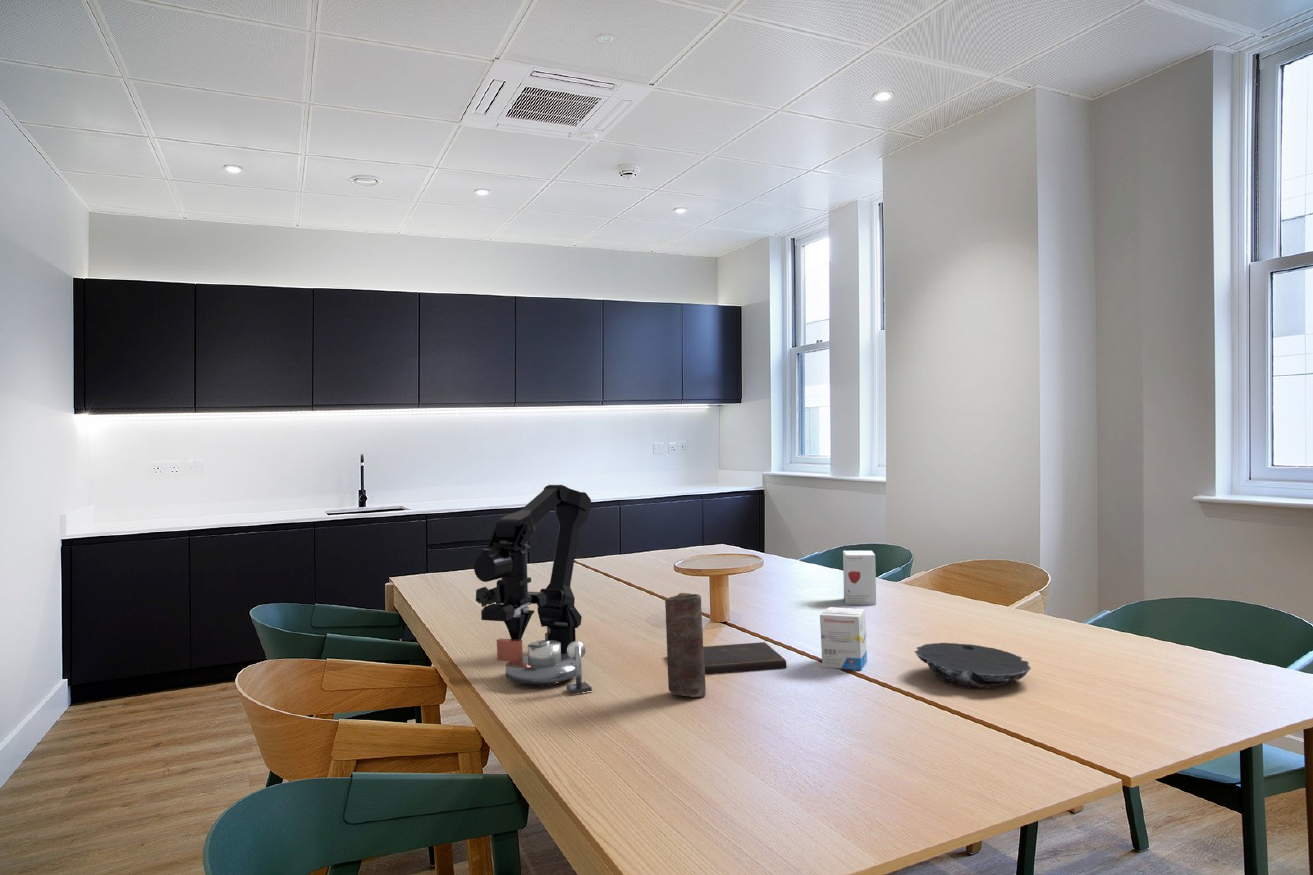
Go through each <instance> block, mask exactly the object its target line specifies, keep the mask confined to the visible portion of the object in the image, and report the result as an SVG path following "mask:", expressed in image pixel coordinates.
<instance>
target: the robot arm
mask: <svg viewBox="0 0 1313 875" xmlns="http://www.w3.org/2000/svg"><path fill="white" fill-rule="evenodd" d="M591 507H592V499H591V497H590V496H589V494H587V492H585V491H578V490H575V489H572V488H570V487H568V486H565V485H564V484H548V485H545V487H543V490H542V491H541V492H540V493H538V494H537V495H536V496H535V497H534V498H533V499H532V500H530V501H529V502H528V503H527V504H526V505H525V506H524V507H522V508H521V509H519V510H518V511H515V512H512V513H508V514H507V515H505V516H502V517H500V518H499V519H498V520H497V522H496V524H495V527H494V529H493V531H492V534H491V537H490V539H489V541H488V544H487V546H486V548H483V549H481V551H480V552H481V555H480V556H478V557H477V558H476V560H475V563H474V565H473V569H474V571H473V572H474V574H475V575H476V576H475V577H476V578H477V579H478V580H479V581H481V582H484V583H488V582H492V581H495V580H497V581H496V587H493V588H488V587H487V586H483V587H480V588H477V589H476V590H475V602H476V603H478V604H481V607H482V609H481V611H480V616H481V618H480V619H481V621H488V622H489V621H491V622H492V621H493V622H503V623H504V624H505V626H506V628H507V631H508V634H509V636H510V637H509V638H510V639H518V640H523V639H522V638H523V636H524V633H525V632H526V628H527V627H528V624H529V622H530V620H531V618H532V616H533V615H534V614H535V610H534V609H532V610H531V609H530V607H529V606H530V605H533V604H534V605H536V606H537V615H538V618H539V622H540V626H541V627H542V628H543V627H546V632H545V633H544V640H553V641H558V642H560V643H561V653H562V654H567V647H568V645H569V644H570V643H571V642H573V641H577V640H576V638H577V637H576V629H577V628H579V626H581V624H582V618H583V616H582V615H581V614H580V612H579V610H578V609H577V608H576V606H575V598H576V597H575V595H574V593H573V591H572V588H571V585H572V584H571V582H572V577H573V571H574V565H575V559H576V553H577V546H578V542H579V541H578V539H579V533H580V529H581V528H582V526H583V525H584V523H586V522H587V520H588V519H589V515H590V510H591ZM554 509H555V512H554V513H555V516H556V519H557V522H558V524H559V528H558V533H557V540H556V545H555V551H554V558H553V562H552V563H553V564H552V568H551V569H552V570H551V574H550V580H549V584H548V585H547V586H546V587H545V588H541V589H540V590H539V591H529V589H528V588H529V586H528V584H529V583H532V577H531V576H530V577H528V554H527V553H529V552H532V551H533V548H532V547H531V546H530V545H529V544H528V542H529V541H530V540H531V538H532V537H533V536H534V534H535V533H536V526H537V525H538V523H540V522H541V521H542V520H543V519H544V518H545V517H546V516H547V515H549V514H550V512H552V510H554Z"/></svg>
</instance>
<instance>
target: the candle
mask: <svg viewBox="0 0 1313 875" xmlns="http://www.w3.org/2000/svg"><path fill="white" fill-rule="evenodd" d="M664 606H665V626H666V628H665V630H666V653H667V654H666V657H667V661H666V662H667V679H668V680H667V683H668V691H669V692H670V693H671V694H672V695H675V696H676V695H677V696H683V697H692V698H703V697H706V693H707V692H706V691H707V689H706V675H705V667H704V651H703V647H704V634H703V633H704V632H703V618H702V617H703V613H702V612H703V610H702V609H703V608H702V597H701V595H700V594H698V593H689V592H688V593H687V592H680V593H678V594H677V595H674V596H673V595H672V596H669V597H666V598H665V599H664Z"/></svg>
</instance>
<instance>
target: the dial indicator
mask: <svg viewBox="0 0 1313 875" xmlns="http://www.w3.org/2000/svg"><path fill="white" fill-rule="evenodd" d="M567 654H568V656H569V657H570V658H572V659H574V660H575V664H574V663H571V665H572V666H573V667H575V668H576V676H575V683H572V684H566V691H567V690H568V691H567V692H569V691H570V692H571V693H572V694H577V693H582V692H587V691H592V690H593V689H592V686H590V684H588V683H587V682H586V681H584V682H583V680H582V679H583V676H582V658H583V657H584V656H585V655H586V646H585V645H584V644H583V643H582V642H580V641H579V640H576V641H573V642H571V643H570V644H569V645H568V647H567ZM570 692H569V693H570ZM592 692H593V691H592ZM571 693H570V694H571ZM572 694H571V695H572Z"/></svg>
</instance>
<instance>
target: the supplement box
mask: <svg viewBox="0 0 1313 875" xmlns="http://www.w3.org/2000/svg"><path fill="white" fill-rule="evenodd" d="M842 560H843V561H842V563H843V565H842V566H843V567H842V569H843V573H842V574H843V599H844V602H845V604H846V605H852V604H853V605H855V606H858V605H861V606H862V605H863V606H871V605H873V606H875V605H877V581H876V578H877V575H876V572H877V571H876V567H877V566H876V554H875V553H874V551H873V550H843V551H842Z"/></svg>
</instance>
